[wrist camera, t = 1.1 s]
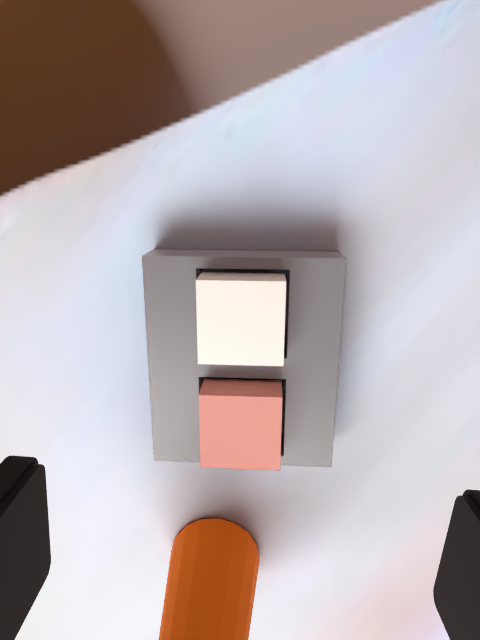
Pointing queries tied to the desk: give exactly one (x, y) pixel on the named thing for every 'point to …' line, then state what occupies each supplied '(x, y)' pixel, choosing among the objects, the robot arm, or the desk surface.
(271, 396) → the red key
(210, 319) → the white key
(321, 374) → the key panel
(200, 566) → the spray bottle
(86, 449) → the desk surface
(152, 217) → the desk surface
